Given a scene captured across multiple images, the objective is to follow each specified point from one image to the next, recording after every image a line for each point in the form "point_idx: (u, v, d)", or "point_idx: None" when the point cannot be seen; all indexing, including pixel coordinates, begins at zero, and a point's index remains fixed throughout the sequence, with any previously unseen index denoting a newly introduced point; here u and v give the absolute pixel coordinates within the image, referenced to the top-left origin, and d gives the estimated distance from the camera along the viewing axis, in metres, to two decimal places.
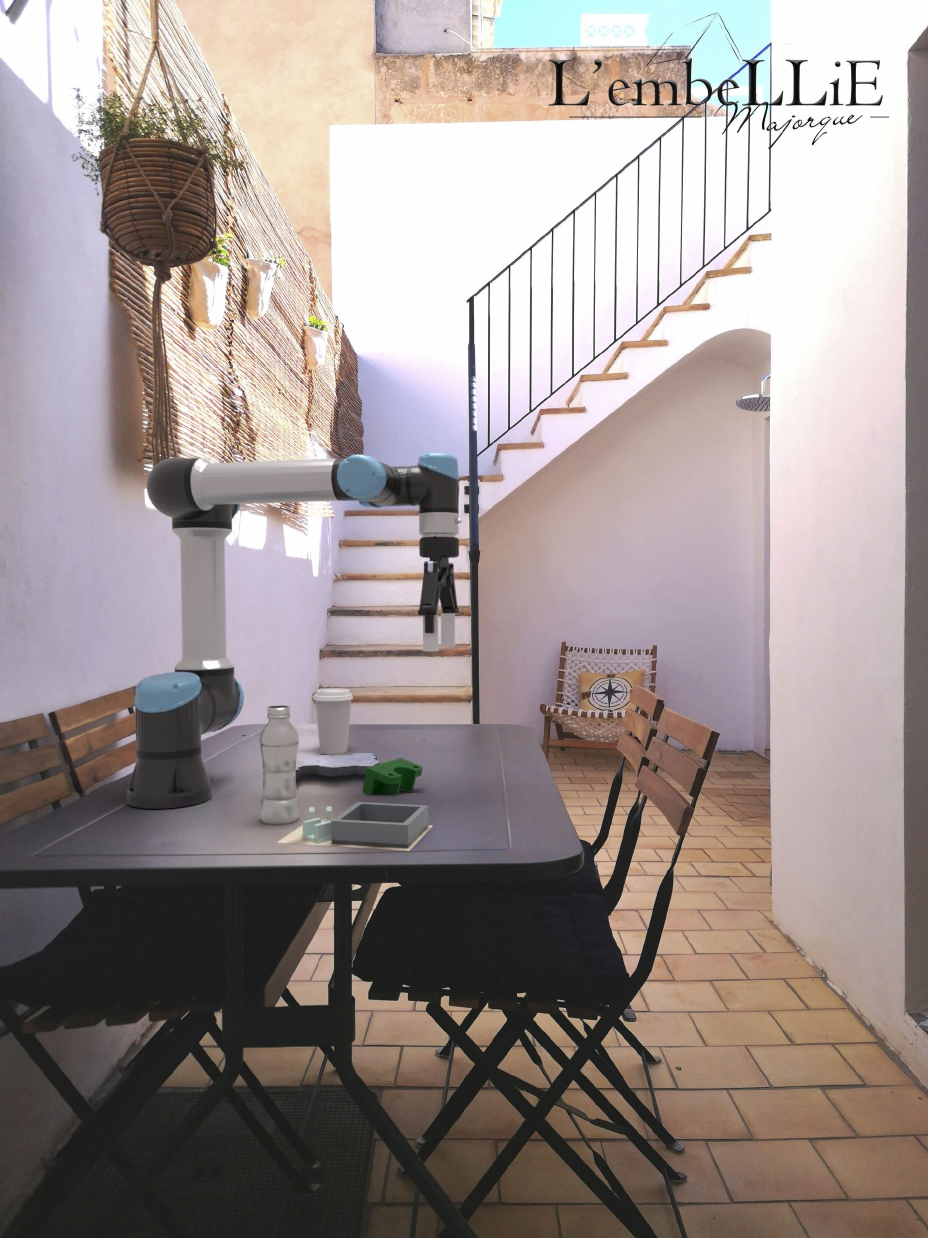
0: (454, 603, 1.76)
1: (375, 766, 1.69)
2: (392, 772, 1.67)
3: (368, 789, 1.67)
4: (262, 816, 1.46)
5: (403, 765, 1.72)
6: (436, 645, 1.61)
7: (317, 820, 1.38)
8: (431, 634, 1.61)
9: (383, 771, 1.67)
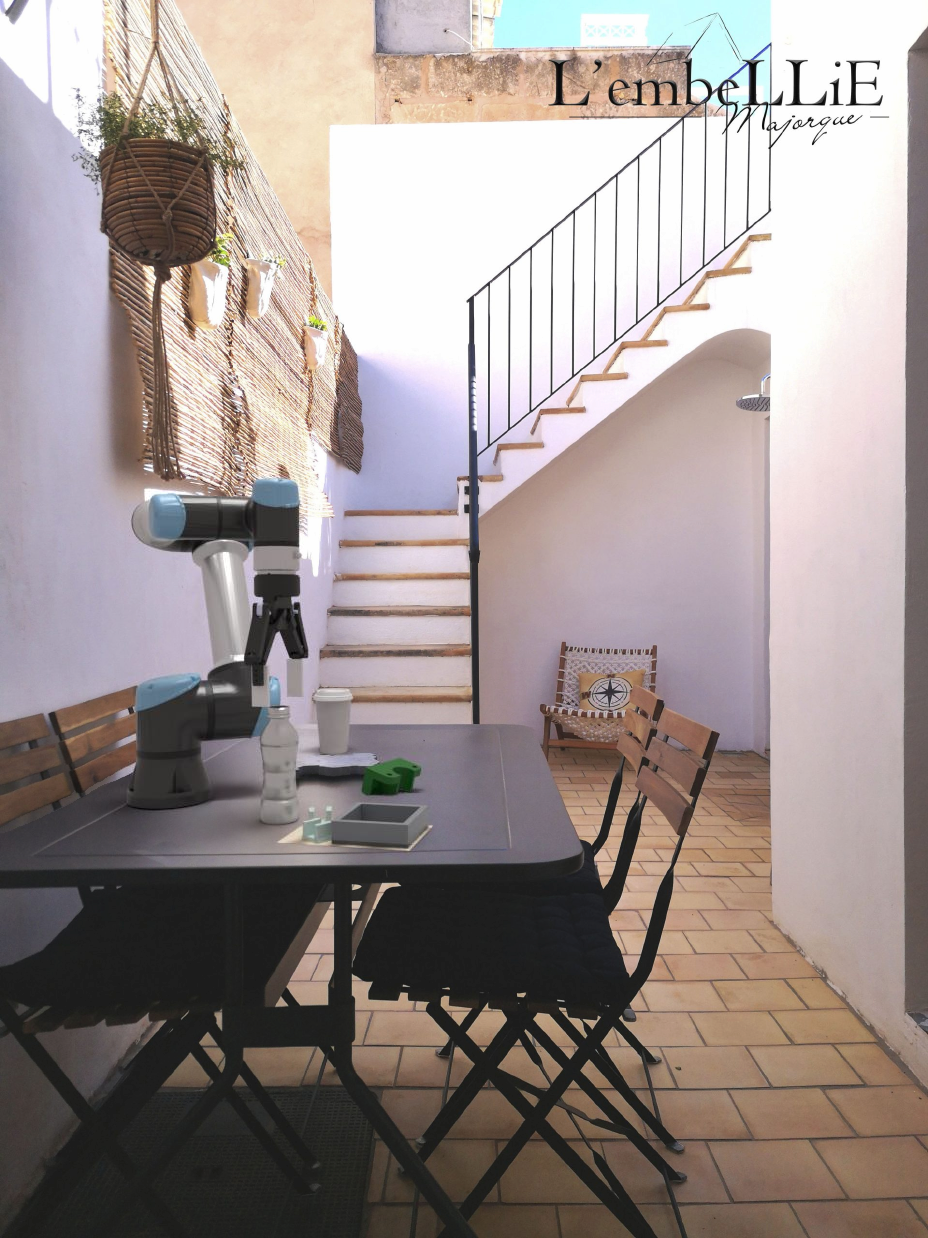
0: (303, 647, 1.55)
1: (374, 766, 1.69)
2: (391, 772, 1.67)
3: (367, 789, 1.67)
4: (262, 816, 1.46)
5: (402, 765, 1.73)
6: (266, 699, 1.40)
7: (317, 820, 1.38)
8: (261, 687, 1.40)
9: (382, 770, 1.67)
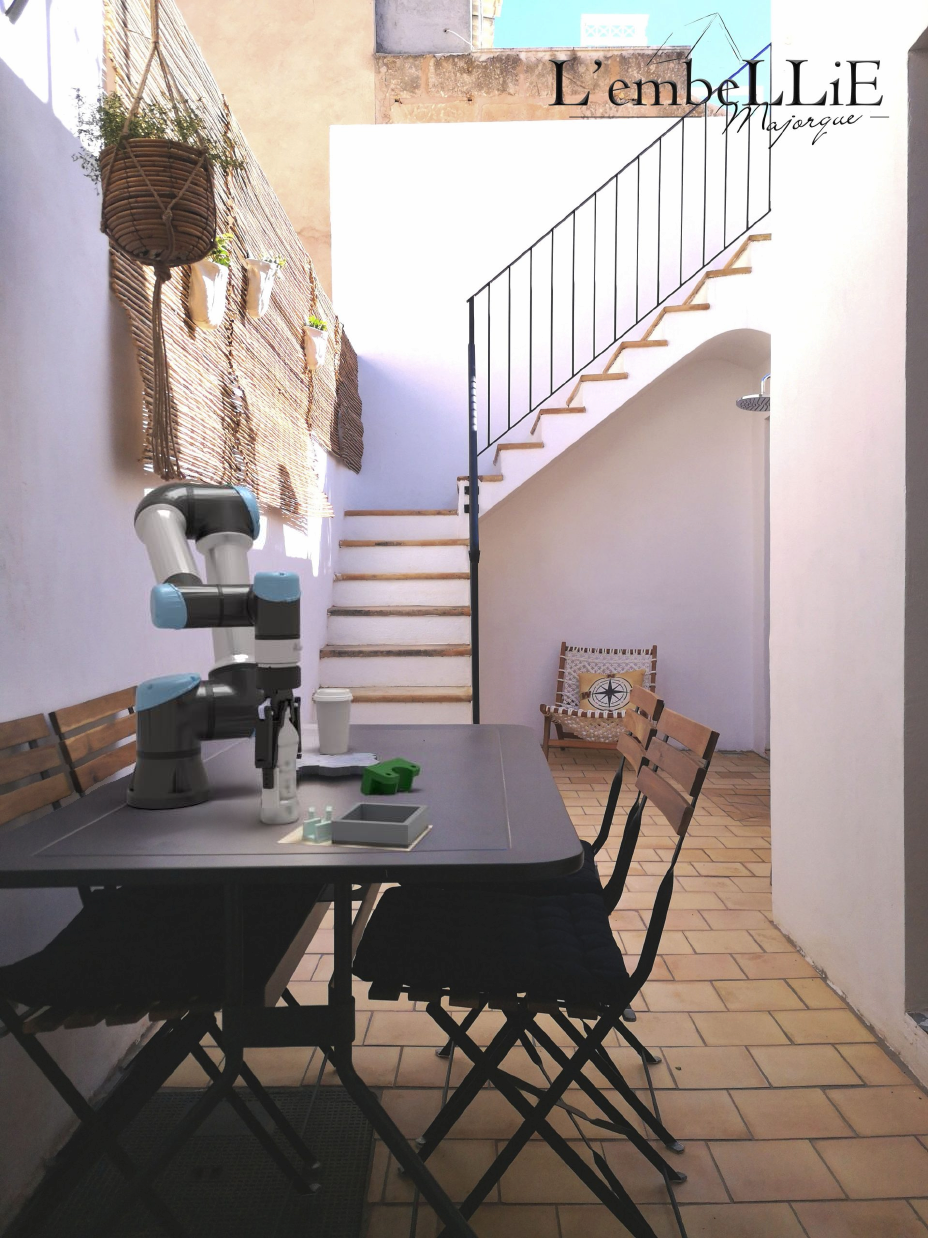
0: None
1: (373, 766, 1.69)
2: (390, 772, 1.68)
3: (366, 788, 1.67)
4: (262, 816, 1.46)
5: (401, 765, 1.73)
6: (276, 802, 1.44)
7: (317, 820, 1.38)
8: (271, 789, 1.44)
9: (381, 770, 1.67)
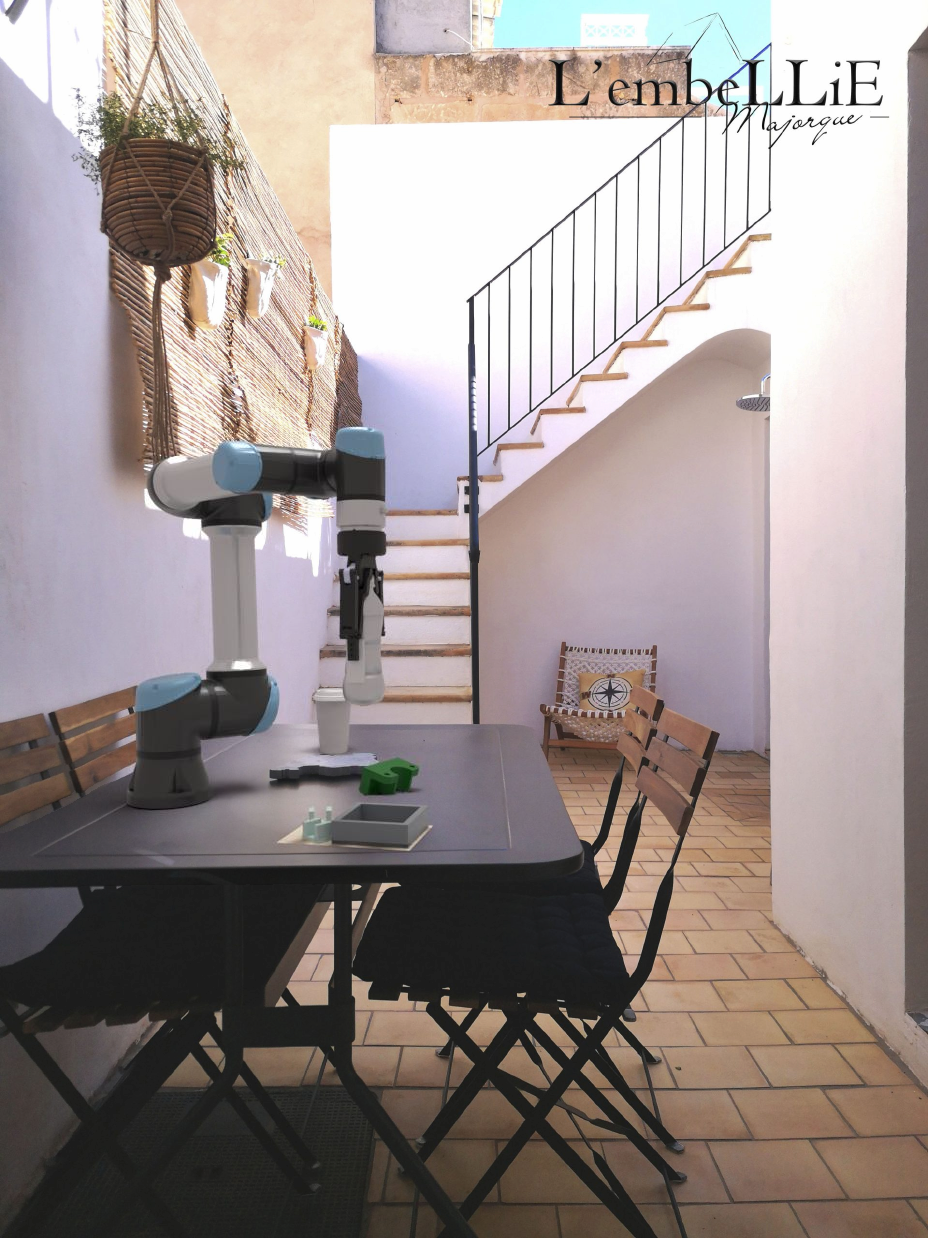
0: None
1: (372, 766, 1.69)
2: (389, 772, 1.68)
3: (365, 788, 1.67)
4: (346, 693, 1.35)
5: (400, 765, 1.73)
6: (362, 675, 1.33)
7: (317, 820, 1.38)
8: (356, 662, 1.33)
9: (379, 770, 1.68)
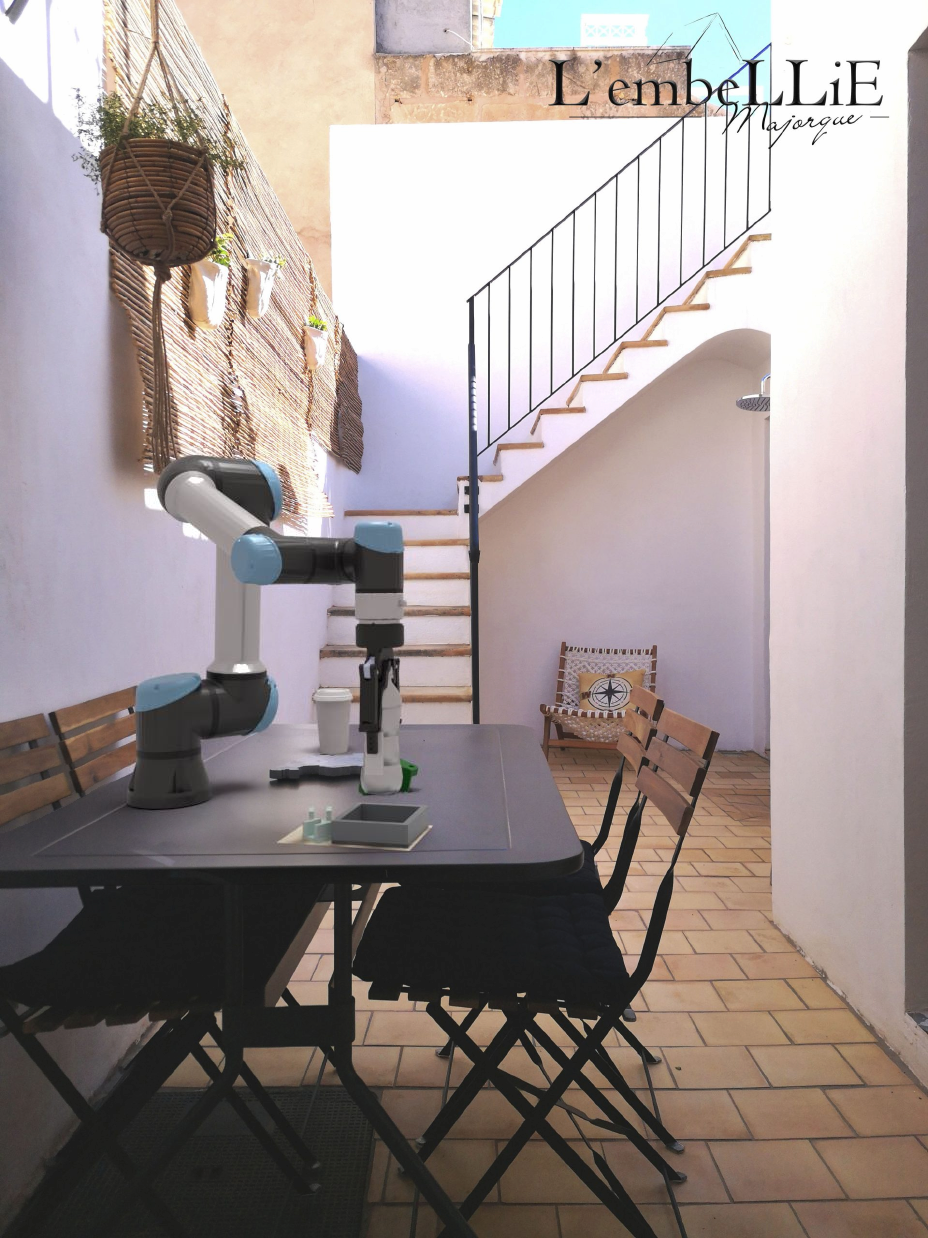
0: None
1: None
2: None
3: None
4: (364, 784, 1.36)
5: None
6: (381, 768, 1.34)
7: (317, 820, 1.38)
8: (375, 754, 1.34)
9: None
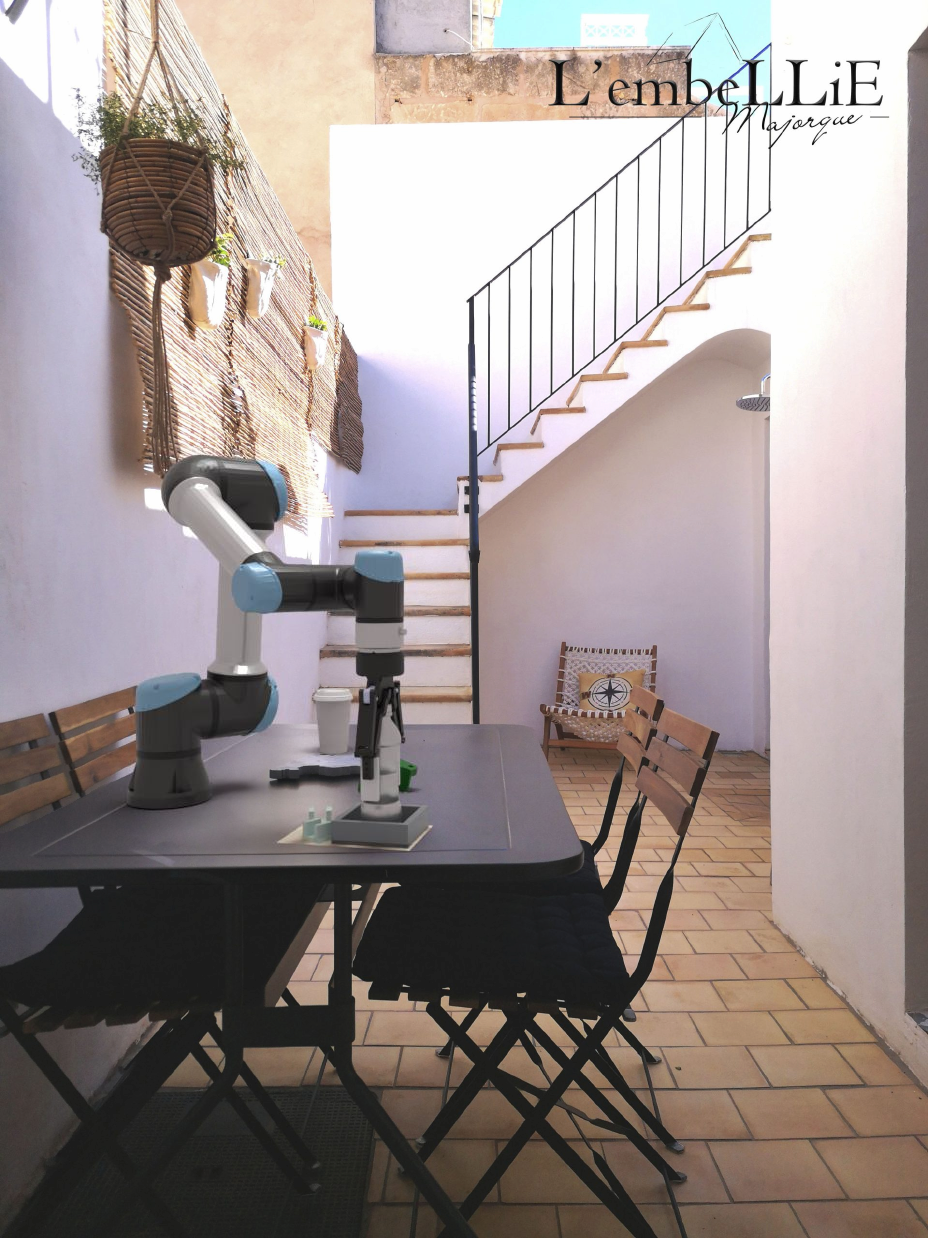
0: (399, 730, 1.45)
1: None
2: None
3: None
4: None
5: None
6: (376, 794, 1.32)
7: (317, 820, 1.38)
8: (370, 780, 1.32)
9: None
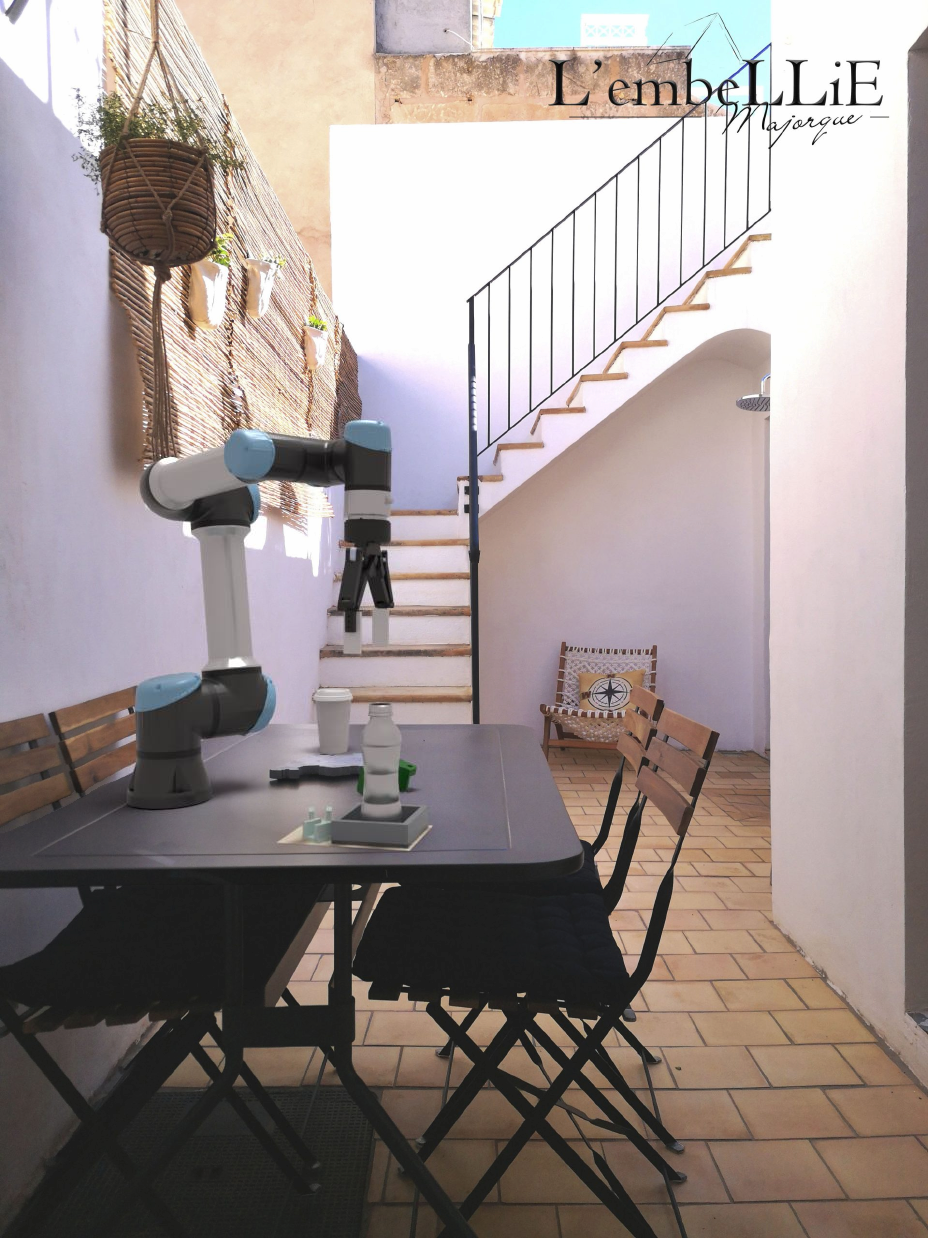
0: (389, 597, 1.52)
1: None
2: None
3: (362, 788, 1.68)
4: None
5: None
6: (358, 647, 1.37)
7: (317, 820, 1.38)
8: (353, 633, 1.37)
9: None
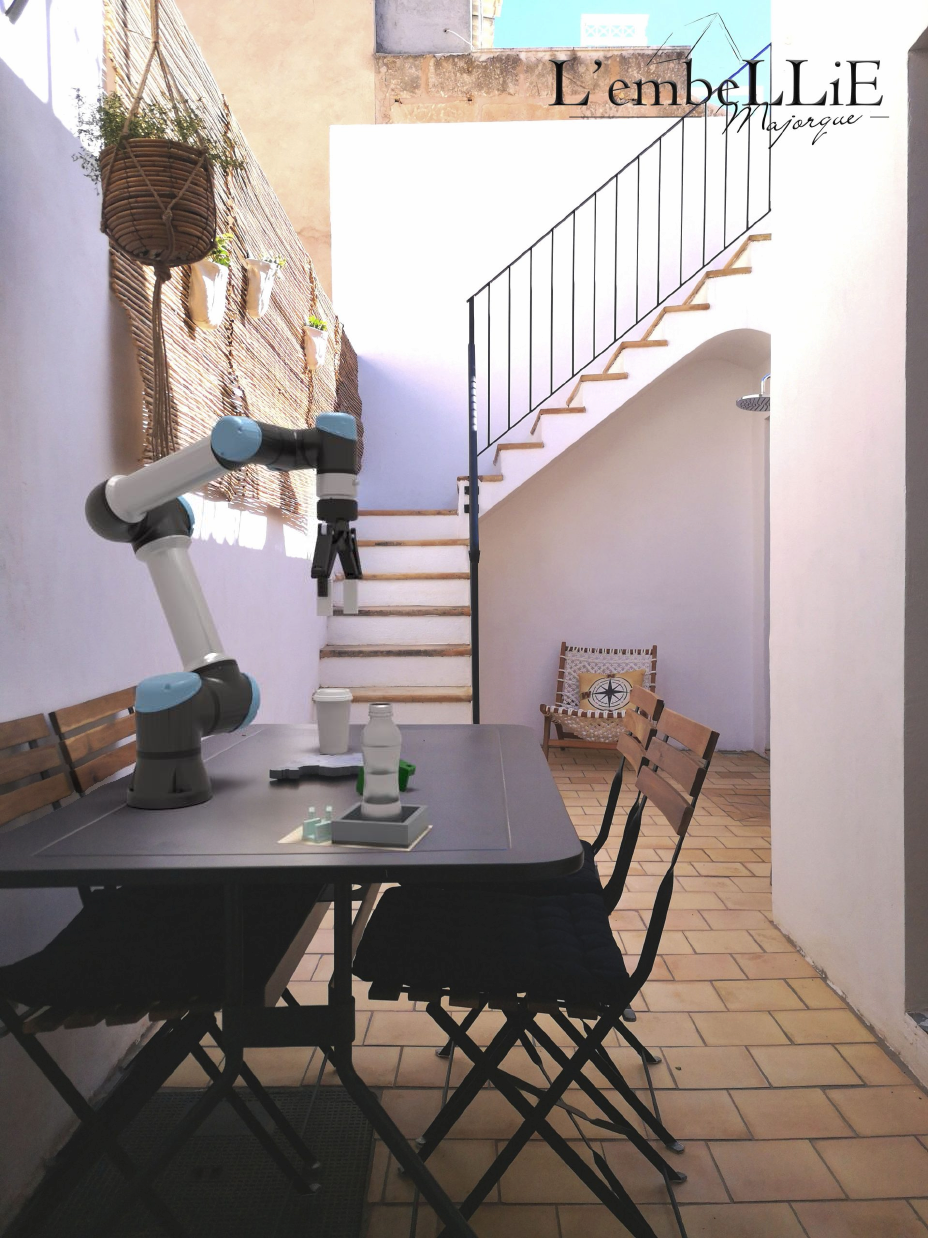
0: (358, 569, 1.71)
1: None
2: None
3: (361, 788, 1.68)
4: None
5: None
6: (330, 609, 1.56)
7: (317, 820, 1.38)
8: (325, 598, 1.56)
9: None
